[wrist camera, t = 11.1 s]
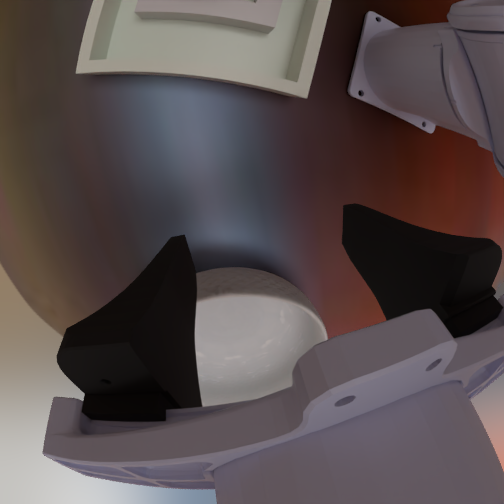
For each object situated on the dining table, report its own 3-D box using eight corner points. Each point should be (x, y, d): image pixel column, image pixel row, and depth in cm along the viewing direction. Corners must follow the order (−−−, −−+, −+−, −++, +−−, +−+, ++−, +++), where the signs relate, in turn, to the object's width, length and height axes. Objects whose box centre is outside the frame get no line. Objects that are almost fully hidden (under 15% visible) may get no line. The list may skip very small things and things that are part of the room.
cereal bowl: (275, 362, 34) (287, 409, 28) (143, 352, 29) (137, 403, 24) (332, 254, 25) (365, 306, 19) (147, 224, 21) (128, 279, 15)
